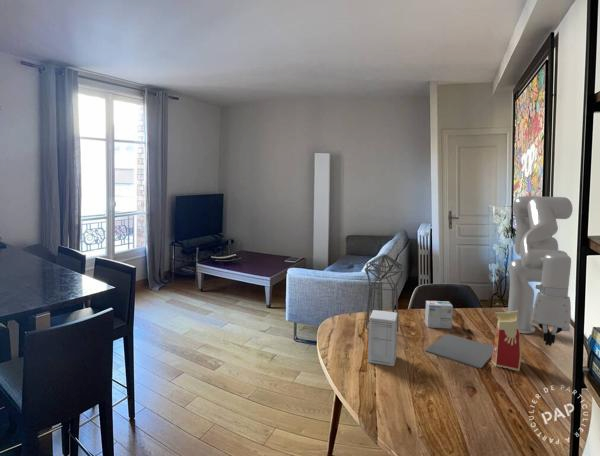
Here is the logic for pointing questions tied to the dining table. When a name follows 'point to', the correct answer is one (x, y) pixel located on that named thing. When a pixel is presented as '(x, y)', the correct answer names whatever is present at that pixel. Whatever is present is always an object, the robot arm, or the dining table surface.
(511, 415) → the dining table surface
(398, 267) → the geometric lantern
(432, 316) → the light bulb box
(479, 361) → the mat
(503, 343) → the milk carton
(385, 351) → the supplement box
